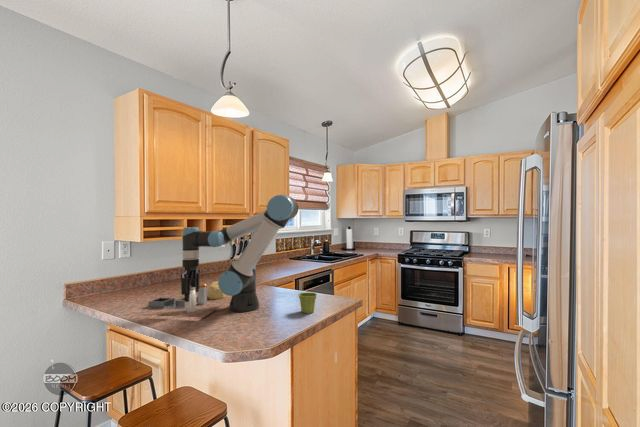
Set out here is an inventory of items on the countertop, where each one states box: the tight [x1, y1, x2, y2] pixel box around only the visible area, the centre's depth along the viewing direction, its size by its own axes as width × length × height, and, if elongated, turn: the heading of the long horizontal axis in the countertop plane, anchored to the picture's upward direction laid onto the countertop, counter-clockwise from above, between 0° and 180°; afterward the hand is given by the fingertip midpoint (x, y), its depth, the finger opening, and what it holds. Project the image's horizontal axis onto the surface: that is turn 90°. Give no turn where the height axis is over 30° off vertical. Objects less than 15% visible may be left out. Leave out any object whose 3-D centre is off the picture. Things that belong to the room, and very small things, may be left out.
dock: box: [147, 296, 198, 310], centre depth 167 cm, size 20×14×4 cm
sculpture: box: [207, 280, 228, 300], centre depth 183 cm, size 11×12×11 cm
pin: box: [197, 283, 208, 306], centre depth 169 cm, size 4×4×12 cm
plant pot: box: [297, 291, 318, 314], centre depth 159 cm, size 9×9×9 cm
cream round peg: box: [185, 287, 196, 313], centre depth 156 cm, size 4×4×13 cm
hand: (190, 306), depth 156 cm, fingers closed on cream round peg, 4 cm apart
